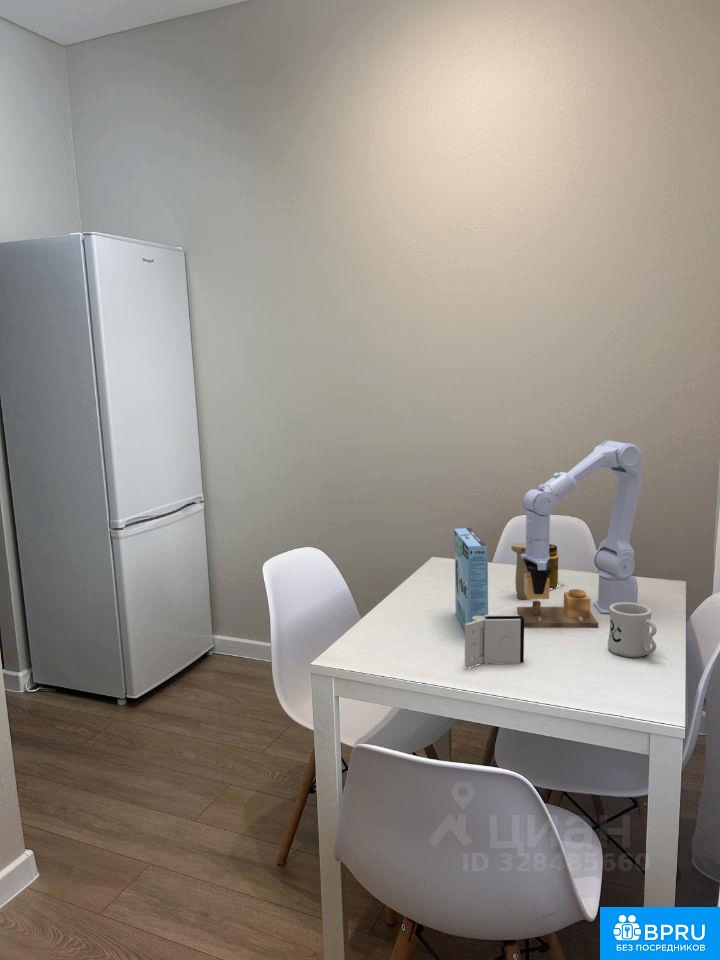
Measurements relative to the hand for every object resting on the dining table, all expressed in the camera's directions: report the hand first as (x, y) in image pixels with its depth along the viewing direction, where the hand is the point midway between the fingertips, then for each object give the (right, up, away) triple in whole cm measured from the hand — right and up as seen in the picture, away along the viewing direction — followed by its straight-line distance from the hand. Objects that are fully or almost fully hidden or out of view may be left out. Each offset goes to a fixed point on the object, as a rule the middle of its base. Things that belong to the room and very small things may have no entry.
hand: (536, 590), depth 188 cm
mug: (+17, -11, -22) cm, 30 cm away
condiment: (+9, -3, +28) cm, 30 cm away
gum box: (-17, -9, -2) cm, 19 cm away
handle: (0, -5, +18) cm, 19 cm away
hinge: (-16, -12, -25) cm, 32 cm away
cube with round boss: (0, -1, 0) cm, 1 cm away
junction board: (+5, -8, +1) cm, 9 cm away
